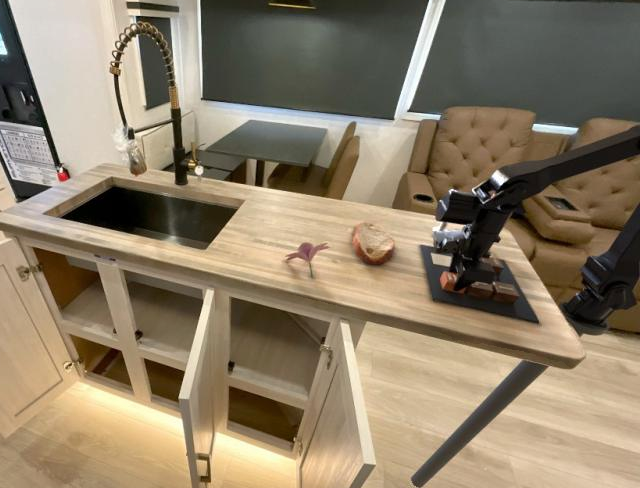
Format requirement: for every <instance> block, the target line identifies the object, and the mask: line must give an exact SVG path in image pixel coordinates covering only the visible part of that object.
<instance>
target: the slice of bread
mask: <svg viewBox="0 0 640 488" xmlns="http://www.w3.org/2000/svg"><path fill="white" fill-rule="evenodd" d="M352 246H353V250H354V251H355V253H356V255H357V256H358V257H359V258H360V259H361V260H362V261H363V262H364V261H365V262H366V263H367V265H368V264H369V265H382V264H383V263H385V262H386V261H388V260H390V259H391V258H392V257H393V256H394V253H395V240H394V238H393V237H391V236H390V234H388V232H387V231H386V230H385V229H384V228H382V227H380V226H379V225H376V224H375V223H372V222H368V221H365V220H362V221H361V220H360V221H359V223H357V225H356V227H355V228H354V232H353V238H352Z"/></svg>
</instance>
